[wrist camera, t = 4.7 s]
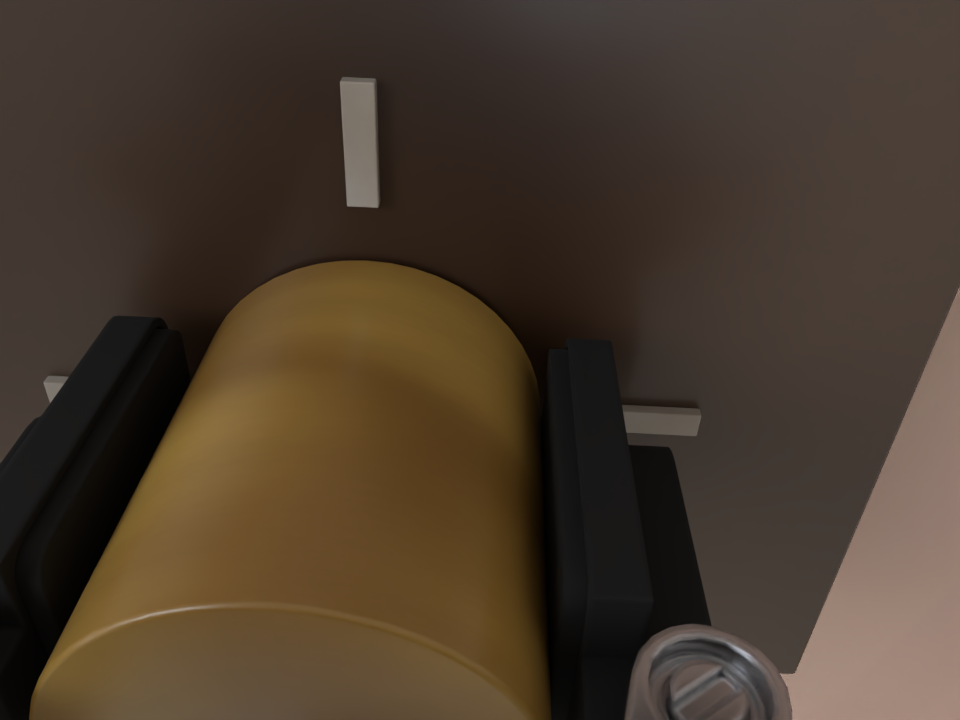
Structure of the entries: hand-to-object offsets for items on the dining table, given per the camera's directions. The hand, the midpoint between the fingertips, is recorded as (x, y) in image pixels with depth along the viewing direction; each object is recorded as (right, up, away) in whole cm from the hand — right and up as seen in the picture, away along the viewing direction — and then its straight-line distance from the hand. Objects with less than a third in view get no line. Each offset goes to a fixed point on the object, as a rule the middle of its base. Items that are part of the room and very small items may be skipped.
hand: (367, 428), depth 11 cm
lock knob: (0, 0, 0) cm, 1 cm away
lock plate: (0, +2, +3) cm, 4 cm away
